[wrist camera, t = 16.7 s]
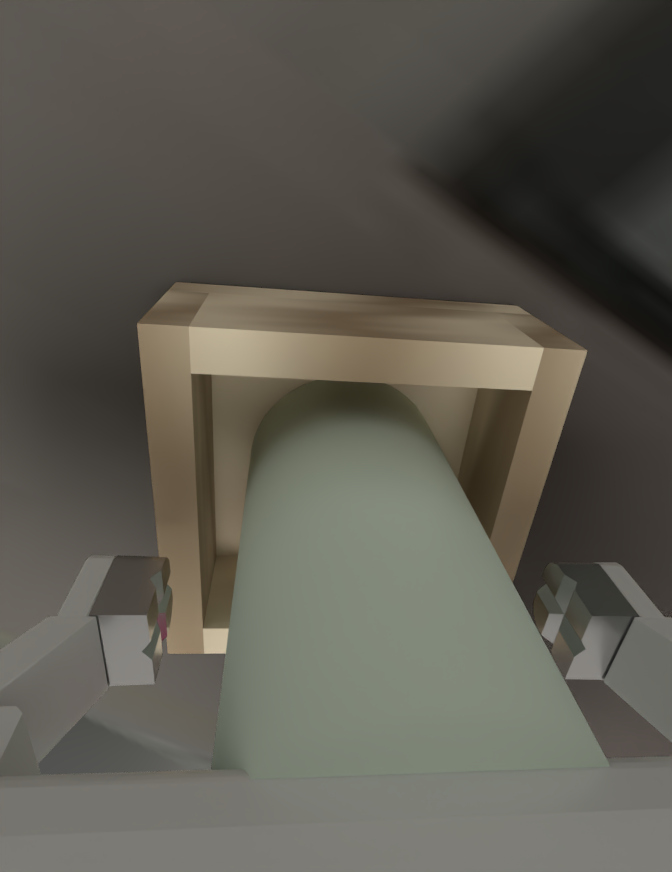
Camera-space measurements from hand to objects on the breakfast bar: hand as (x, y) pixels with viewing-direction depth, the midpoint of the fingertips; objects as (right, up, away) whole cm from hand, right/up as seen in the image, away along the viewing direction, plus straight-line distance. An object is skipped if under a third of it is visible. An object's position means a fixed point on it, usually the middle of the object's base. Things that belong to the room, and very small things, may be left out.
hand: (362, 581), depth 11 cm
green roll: (0, +2, +5) cm, 5 cm away
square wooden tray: (-1, +3, +5) cm, 6 cm away
